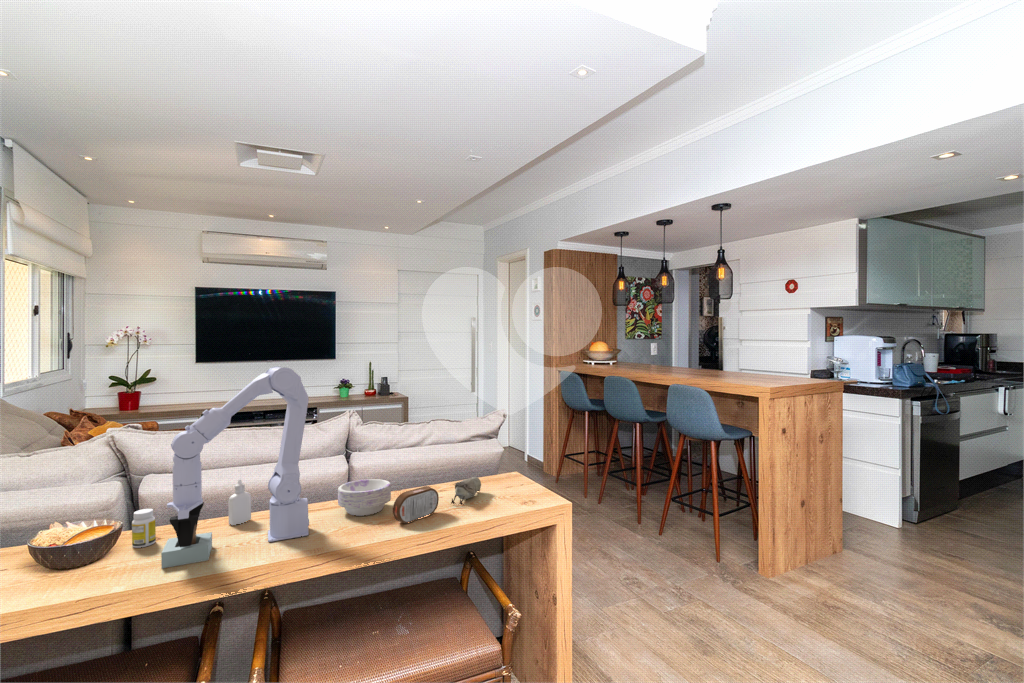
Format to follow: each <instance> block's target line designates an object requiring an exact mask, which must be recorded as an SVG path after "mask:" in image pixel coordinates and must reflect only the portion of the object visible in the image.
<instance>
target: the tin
mask: <svg viewBox="0 0 1024 683" xmlns="http://www.w3.org/2000/svg"><path fill="white" fill-rule="evenodd" d="M439 497H440V496H439V493H438V491H437V490H436V489H435V488H433V487H431V486H428V485H425V486H424V485H423V486H421V487H418V488H415V489H411V490H408V491H404V492H402V493H400V494H399V495H397V497H396V499H395V500H394V502H393V506H392V516H393V518H394V520H396V521H398V522H400V523H402V524H409V523H408V522H410V523H412V522H411V521H413V520H416V519H418V518H421V517H424V516H426V515H429V514H432V513H433V514H434V513H435V511H436V510H437V508H438V505H439V499H440V498H439ZM433 514H432V515H433ZM416 521H417V520H416ZM413 522H414V521H413Z"/></svg>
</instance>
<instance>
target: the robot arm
mask: <svg viewBox="0 0 1024 683" xmlns="http://www.w3.org/2000/svg"><path fill="white" fill-rule="evenodd" d="M274 392H276V393H277V394H279V396H281V398H282V399H283V400H284V401H285V402H286V411H285V416H284V423H283V429H282V433H281V441H280V447H279V453H278V457H277V458H278V460H277V463H276V464H275V467H274V468H273V469H274V470H273V473H272V475H271V477H270V478H269V480H268V482H267V487H268V491H269V492H270V493H271V494H272V495H271V498H270V499H269V505H268V506H269V529H268V530H267V541H268V543H270V542H277V541H283V540H289V539H294V538H295V539H296V538H301V536H302V537H306V536H307V537H308V536H309V534H310V533H309V526H310V519H309V505H308V504H309V503H308V502H309V500H308V498H307V497H303V498H302V497H301V496H300V495H301V494H302V485H301V482H300V476H301V472H300V467H299V466H300V465H299V461H300V457H301V456H300V455H301V449H302V442H303V437H304V430H305V425H306V419H307V418H306V417H307V412H308V404H309V394H308V393H307V391H306V388H305V387H304V384H303V382H302V377H301V376H300V375H299V374H298V373H297V372H295V370H294V369H292V368H290V367H282V366H272V367H270V368H269V369H268V368H267V370H266V371H265V372H262V373H261V374H259V375H258V376H257V377H255V378H254V379H253V380H251V381H250V382H249V383H248V384H246V386H244V387H243V388H242V389H241V390H240V391H238V393H236V394H235V395H234V396H233V397H232V398H230V400H228V401H227V402H226V403H225V404H224V405H222V406H221V407H211V408H210V409H205V410H204V411H202V416H200V417H199V418H198V419H197V420H196V421H194V422H193V423H191V424H190V425H189V424H188V425H186V426H185V427H184V429H185V430H184V431H181V432H179V433H177V434H176V435H175V436H173V439H172V442H171V443H170V447H171V449H172V451H173V457H172V462H173V464H172V501H170V502H167V503H166V508H168V509H169V508H172V509H173V510H175V511H176V513H177V515H175V516H170V517H169V523H170V525H171V526H172V527H173V529H174V531H175V534H176V538H178V542H179V545H180V547H186V546H191V543H192V539H193V533H194V527H195V524H196V530H197V528H198V523H199V517H200V514H201V511H202V508H203V507H204V504H205V502H204V501H203V499H204V498H203V496H202V495H203V494H202V493H203V491H202V489H203V488H202V485H203V484H202V483H203V481H202V475H203V474H202V461H201V453H202V451H203V448H204V445H206V444H209V442H211V441H212V440H213V439H214V438H216V437H217V436H218V435H219V434H221V433H222V432H223V431H224V430H225V429H226V428H228V427H229V426H230V425H231V420H232V417H233V416H235V414H237V413H238V412H239V411H241V410H242V409H243V408H244V407H246V406H248V404H249V403H251V402H252V401H254V400H255V399H256V398H257V397H259V396H262V395H269V394H273V393H274Z"/></svg>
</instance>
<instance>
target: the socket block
mask: <svg viewBox="0 0 1024 683" xmlns="http://www.w3.org/2000/svg"><path fill="white" fill-rule="evenodd" d="M212 548H213V531H211V532H204V533H196V544H192V545H191V546H186V547H180V545H179V542H178V538H177V537H172V538H170V537H169V538H168V539H167V541H166V543H165V545H164V547H163V549H162V551H161V554H160V556H161V558H160V559H161V560H160V561H161V562H160V563H161V564H160V565H161V569H165V568H166V569H167V568H172V567H177V566H183V565H184V566H185V565H188V564H189V565H190V564H194V563H200V562H206V561H209V559H210V555H211V551H212Z"/></svg>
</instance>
